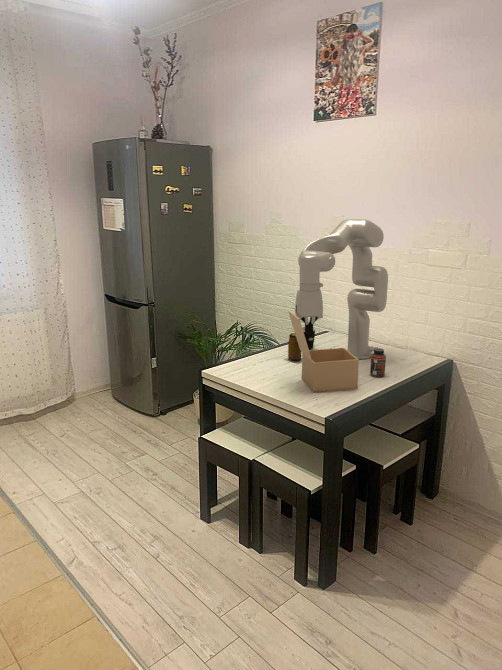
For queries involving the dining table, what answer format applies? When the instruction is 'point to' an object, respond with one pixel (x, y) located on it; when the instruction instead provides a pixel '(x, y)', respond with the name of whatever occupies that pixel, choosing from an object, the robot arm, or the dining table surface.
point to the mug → (309, 338)
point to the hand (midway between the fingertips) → (309, 333)
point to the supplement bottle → (378, 363)
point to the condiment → (293, 349)
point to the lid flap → (299, 334)
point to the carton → (330, 370)
